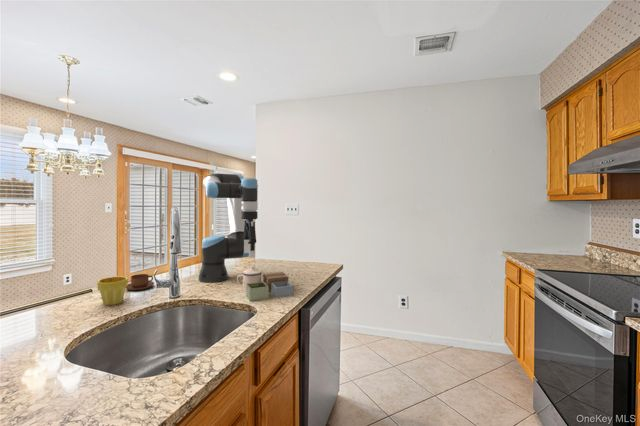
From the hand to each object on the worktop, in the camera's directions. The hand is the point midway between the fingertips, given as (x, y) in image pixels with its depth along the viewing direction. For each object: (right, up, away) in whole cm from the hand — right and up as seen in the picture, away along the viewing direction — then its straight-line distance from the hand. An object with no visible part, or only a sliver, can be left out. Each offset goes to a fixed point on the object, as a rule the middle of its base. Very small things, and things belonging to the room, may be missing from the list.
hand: (249, 255), depth 143 cm
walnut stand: (+12, -17, +2) cm, 21 cm away
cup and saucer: (-54, -17, +2) cm, 56 cm away
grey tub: (+16, -17, -6) cm, 25 cm away
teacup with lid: (0, -17, +1) cm, 17 cm away
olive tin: (+6, -18, -12) cm, 22 cm away
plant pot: (-52, -17, -18) cm, 58 cm away
